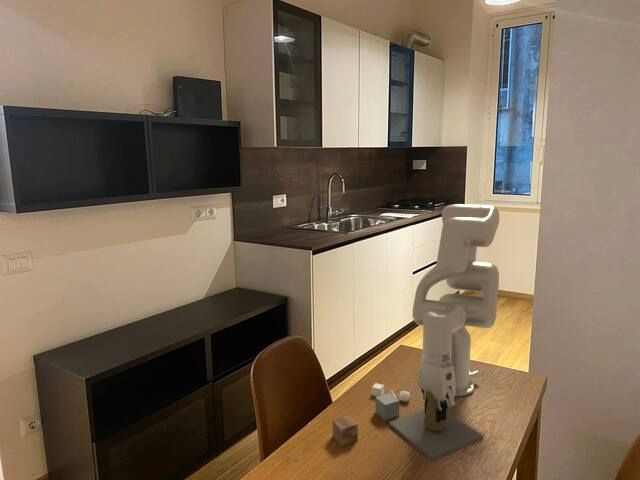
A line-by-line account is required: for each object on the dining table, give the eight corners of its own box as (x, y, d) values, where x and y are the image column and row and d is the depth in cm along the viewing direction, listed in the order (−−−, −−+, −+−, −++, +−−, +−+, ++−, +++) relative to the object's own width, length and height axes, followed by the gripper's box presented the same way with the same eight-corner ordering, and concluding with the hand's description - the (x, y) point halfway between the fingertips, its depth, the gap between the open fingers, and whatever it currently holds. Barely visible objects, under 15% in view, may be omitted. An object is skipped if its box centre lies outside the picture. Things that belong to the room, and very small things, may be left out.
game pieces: (371, 396, 155) (371, 387, 154) (375, 391, 158) (375, 382, 157) (408, 404, 149) (408, 395, 149) (411, 399, 152) (411, 390, 151)
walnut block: (348, 431, 136) (348, 415, 135) (357, 440, 132) (357, 424, 131) (332, 436, 134) (332, 420, 133) (341, 446, 130) (341, 429, 129)
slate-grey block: (389, 407, 147) (389, 392, 146) (399, 416, 143) (399, 400, 142) (375, 412, 145) (375, 397, 144) (385, 420, 141) (385, 405, 140)
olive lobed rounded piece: (446, 431, 131) (447, 394, 129) (423, 429, 132) (424, 392, 130) (445, 418, 137) (446, 383, 134) (423, 417, 138) (424, 381, 136)
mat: (437, 407, 147) (437, 404, 146) (482, 439, 131) (482, 435, 131) (388, 425, 138) (388, 422, 138) (431, 460, 123) (431, 457, 123)
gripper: (470, 364, 125) (467, 428, 128) (427, 341, 139) (425, 399, 143) (447, 371, 121) (445, 437, 125) (406, 347, 136) (405, 406, 139)
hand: (435, 416), depth 134 cm, fingers closed on olive lobed rounded piece, 4 cm apart
